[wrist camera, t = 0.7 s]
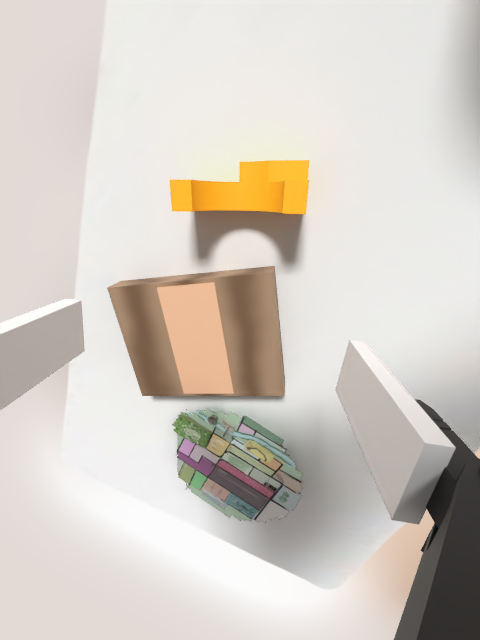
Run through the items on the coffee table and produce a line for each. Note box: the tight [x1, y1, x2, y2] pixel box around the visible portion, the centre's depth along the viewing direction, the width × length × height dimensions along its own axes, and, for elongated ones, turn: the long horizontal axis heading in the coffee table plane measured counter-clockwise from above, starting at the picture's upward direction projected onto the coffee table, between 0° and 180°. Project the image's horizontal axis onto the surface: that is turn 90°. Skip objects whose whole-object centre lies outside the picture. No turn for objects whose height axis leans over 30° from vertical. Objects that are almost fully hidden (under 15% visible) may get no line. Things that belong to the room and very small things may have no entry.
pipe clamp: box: [170, 160, 309, 214], centre depth 27 cm, size 12×4×6 cm, turn 89°
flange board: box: [108, 266, 285, 396], centre depth 36 cm, size 20×16×3 cm
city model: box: [172, 409, 304, 523], centre depth 44 cm, size 25×23×6 cm
